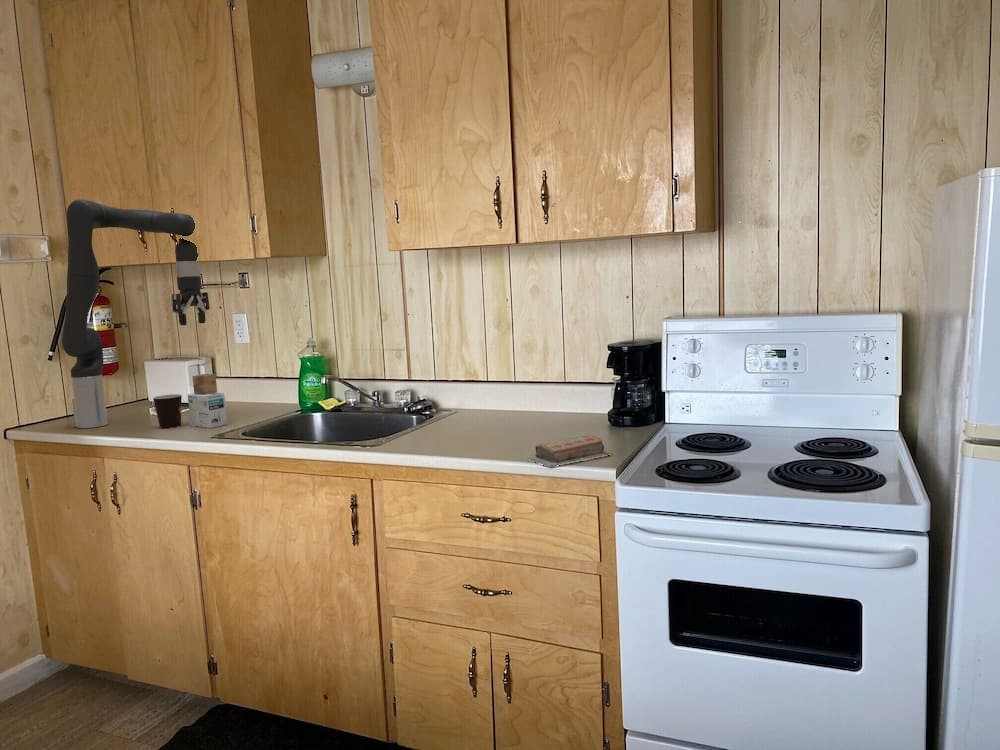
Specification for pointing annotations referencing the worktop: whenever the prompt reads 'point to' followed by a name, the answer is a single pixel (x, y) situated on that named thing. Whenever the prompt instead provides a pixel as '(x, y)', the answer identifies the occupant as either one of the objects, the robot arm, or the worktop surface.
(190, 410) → the light bulb box
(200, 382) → the walnut block
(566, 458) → the packaged product
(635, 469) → the worktop surface
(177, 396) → the coffee mug
